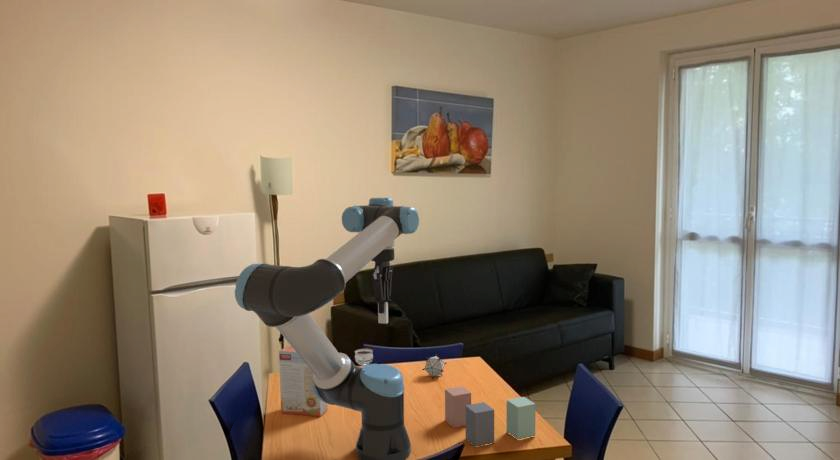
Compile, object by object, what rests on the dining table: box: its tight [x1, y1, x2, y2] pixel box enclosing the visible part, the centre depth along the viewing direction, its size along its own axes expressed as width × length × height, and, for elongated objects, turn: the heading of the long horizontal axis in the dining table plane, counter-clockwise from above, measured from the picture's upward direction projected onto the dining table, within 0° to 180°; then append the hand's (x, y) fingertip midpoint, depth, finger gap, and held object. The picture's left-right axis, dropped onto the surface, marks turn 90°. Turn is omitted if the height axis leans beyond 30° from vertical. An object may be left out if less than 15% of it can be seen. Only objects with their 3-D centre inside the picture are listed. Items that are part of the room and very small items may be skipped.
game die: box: [422, 353, 448, 380], centre depth 218 cm, size 9×8×10 cm
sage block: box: [506, 396, 536, 439], centre depth 168 cm, size 6×6×10 cm
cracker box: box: [278, 345, 328, 417], centre depth 185 cm, size 14×6×21 cm, turn 74°
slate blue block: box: [465, 401, 495, 448], centre depth 164 cm, size 6×6×10 cm
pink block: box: [444, 385, 472, 429], centre depth 177 cm, size 6×6×10 cm
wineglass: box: [354, 348, 374, 368], centre depth 211 cm, size 7×7×12 cm
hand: (383, 322), depth 179 cm, fingers closed
